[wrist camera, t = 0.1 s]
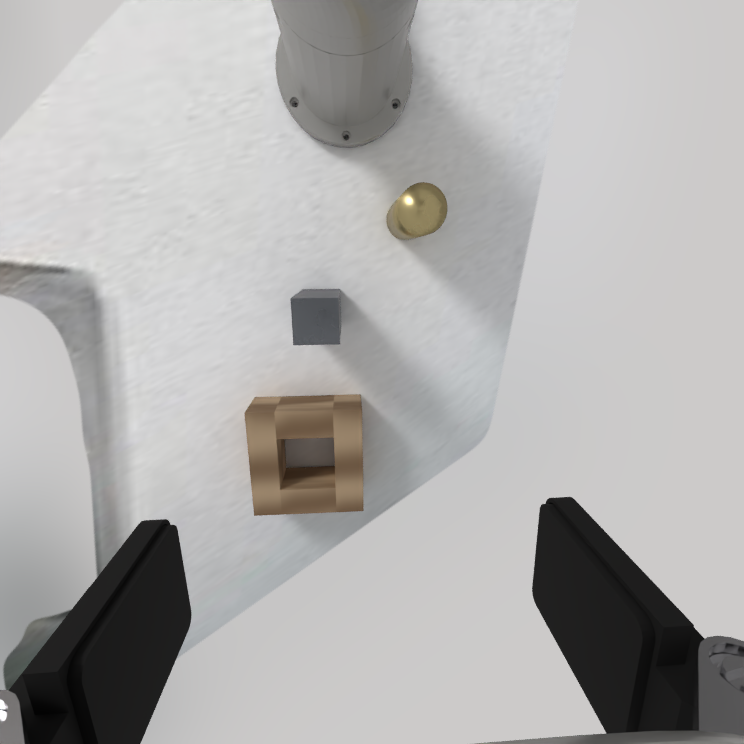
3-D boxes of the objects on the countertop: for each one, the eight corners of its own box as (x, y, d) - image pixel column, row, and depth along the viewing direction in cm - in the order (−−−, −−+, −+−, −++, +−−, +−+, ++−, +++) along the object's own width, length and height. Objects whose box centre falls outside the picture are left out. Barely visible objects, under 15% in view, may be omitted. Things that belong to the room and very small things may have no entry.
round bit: (386, 199, 43) (398, 182, 33) (425, 199, 43) (448, 182, 33) (386, 240, 44) (398, 235, 34) (424, 239, 44) (446, 235, 34)
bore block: (254, 397, 47) (244, 413, 43) (360, 394, 48) (361, 409, 43) (263, 490, 51) (254, 515, 46) (361, 487, 51) (363, 510, 46)
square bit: (302, 289, 45) (290, 298, 35) (340, 289, 45) (338, 297, 35) (304, 326, 46) (293, 345, 36) (341, 326, 46) (339, 344, 36)
